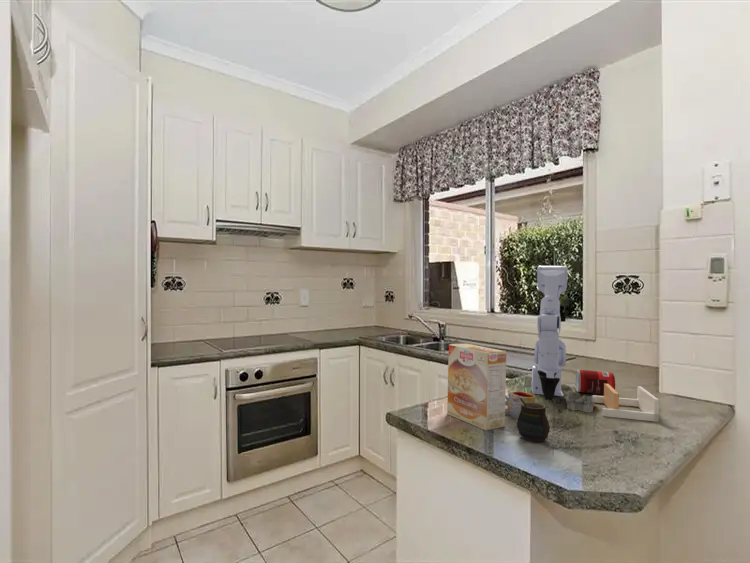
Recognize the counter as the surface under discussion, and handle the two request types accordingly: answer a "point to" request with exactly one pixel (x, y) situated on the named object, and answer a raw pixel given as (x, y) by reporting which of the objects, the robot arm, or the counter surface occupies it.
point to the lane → (643, 401)
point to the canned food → (593, 381)
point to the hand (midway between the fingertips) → (547, 396)
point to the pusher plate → (611, 397)
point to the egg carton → (580, 402)
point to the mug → (516, 402)
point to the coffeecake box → (477, 385)
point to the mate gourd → (533, 422)
